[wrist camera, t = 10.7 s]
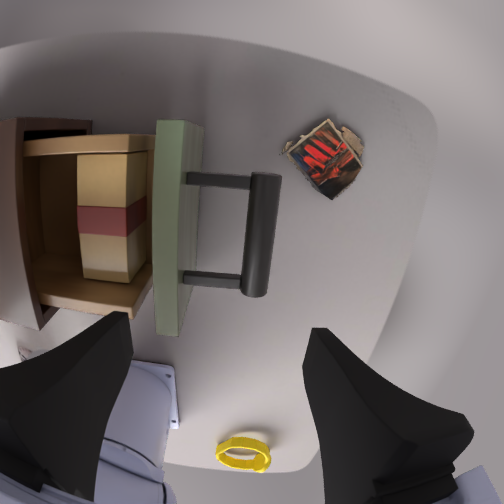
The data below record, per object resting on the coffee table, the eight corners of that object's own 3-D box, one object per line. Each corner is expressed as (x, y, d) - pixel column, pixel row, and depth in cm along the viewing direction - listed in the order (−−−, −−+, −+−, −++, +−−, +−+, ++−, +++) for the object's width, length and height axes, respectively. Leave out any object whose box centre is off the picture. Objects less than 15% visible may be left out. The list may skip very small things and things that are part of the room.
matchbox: (335, 204, 20) (338, 206, 19) (274, 160, 19) (275, 161, 18) (373, 150, 19) (376, 151, 18) (314, 104, 17) (315, 103, 17)
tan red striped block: (147, 259, 19) (129, 284, 16) (105, 255, 19) (82, 278, 15) (149, 150, 17) (128, 153, 13) (103, 151, 16) (75, 154, 13)
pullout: (275, 133, 17) (293, 129, 11) (257, 284, 21) (264, 344, 15) (41, 132, 16) (-21, 138, 10) (47, 263, 20) (-1, 303, 14)
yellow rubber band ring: (209, 443, 30) (246, 461, 31) (205, 461, 27) (244, 478, 29) (243, 426, 28) (281, 446, 29) (240, 447, 26) (281, 465, 27)
